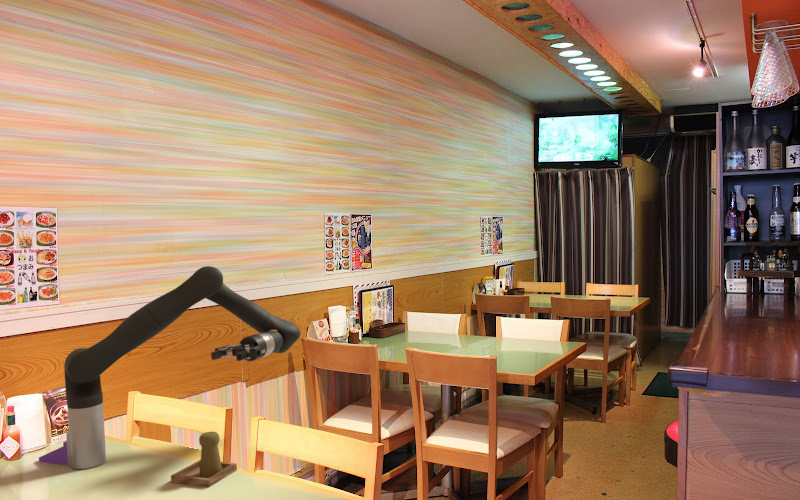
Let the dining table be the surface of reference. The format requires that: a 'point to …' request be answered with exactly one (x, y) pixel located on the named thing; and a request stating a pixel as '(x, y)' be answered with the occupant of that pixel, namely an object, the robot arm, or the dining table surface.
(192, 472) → the tray
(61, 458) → the bracket
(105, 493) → the dining table surface
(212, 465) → the olive pepper mill
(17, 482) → the dining table surface
